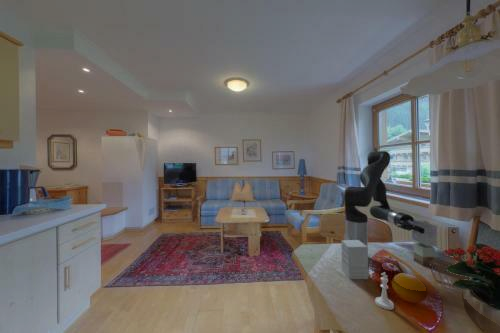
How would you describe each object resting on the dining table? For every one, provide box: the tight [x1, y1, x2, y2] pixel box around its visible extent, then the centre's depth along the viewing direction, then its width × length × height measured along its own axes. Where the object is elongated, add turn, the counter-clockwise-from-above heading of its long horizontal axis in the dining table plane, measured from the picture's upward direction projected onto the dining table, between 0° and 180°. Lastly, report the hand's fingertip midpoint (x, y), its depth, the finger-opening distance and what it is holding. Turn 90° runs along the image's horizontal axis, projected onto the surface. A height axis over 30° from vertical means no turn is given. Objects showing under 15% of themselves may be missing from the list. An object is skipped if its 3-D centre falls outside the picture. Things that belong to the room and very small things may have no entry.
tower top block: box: [413, 242, 436, 258], centre depth 88 cm, size 5×5×4 cm
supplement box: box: [340, 239, 369, 280], centre depth 80 cm, size 7×7×13 cm
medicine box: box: [411, 220, 438, 247], centre depth 88 cm, size 8×4×9 cm, turn 179°
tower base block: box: [413, 251, 436, 267], centre depth 88 cm, size 5×5×4 cm
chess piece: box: [374, 271, 395, 310], centre depth 63 cm, size 5×5×10 cm
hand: (429, 231), depth 86 cm, fingers closed on medicine box, 4 cm apart
